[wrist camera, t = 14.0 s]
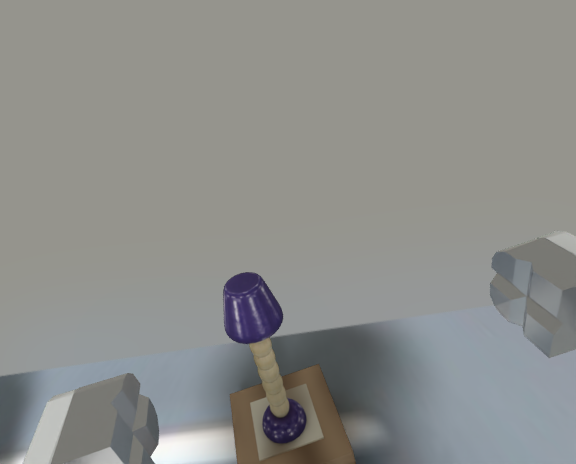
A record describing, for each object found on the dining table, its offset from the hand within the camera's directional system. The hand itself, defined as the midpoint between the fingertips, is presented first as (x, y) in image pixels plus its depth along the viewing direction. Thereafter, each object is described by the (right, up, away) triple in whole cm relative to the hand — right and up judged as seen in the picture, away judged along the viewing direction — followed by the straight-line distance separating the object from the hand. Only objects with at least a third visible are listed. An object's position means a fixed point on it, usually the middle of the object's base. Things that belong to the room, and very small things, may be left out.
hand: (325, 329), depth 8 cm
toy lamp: (-1, -16, +28) cm, 32 cm away
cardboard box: (0, -20, +30) cm, 36 cm away
